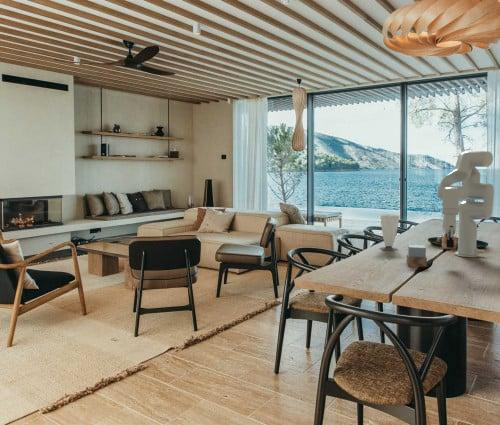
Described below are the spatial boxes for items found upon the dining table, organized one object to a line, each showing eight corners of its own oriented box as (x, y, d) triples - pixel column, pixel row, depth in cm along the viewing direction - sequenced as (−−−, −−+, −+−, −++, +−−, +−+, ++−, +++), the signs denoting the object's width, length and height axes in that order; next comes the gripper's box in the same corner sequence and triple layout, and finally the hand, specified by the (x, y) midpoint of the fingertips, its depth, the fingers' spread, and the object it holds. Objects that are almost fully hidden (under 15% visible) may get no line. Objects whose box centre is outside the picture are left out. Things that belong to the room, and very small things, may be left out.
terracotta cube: (453, 246, 236) (454, 235, 235) (456, 248, 230) (456, 237, 229) (441, 246, 237) (442, 234, 236) (443, 248, 231) (444, 237, 231)
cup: (375, 248, 286) (376, 214, 283) (391, 247, 289) (392, 213, 287) (386, 251, 275) (387, 216, 273) (402, 250, 278) (403, 215, 276)
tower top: (424, 254, 240) (424, 245, 240) (425, 257, 233) (425, 247, 232) (408, 253, 242) (408, 244, 242) (409, 256, 235) (409, 247, 234)
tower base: (424, 263, 241) (424, 254, 240) (426, 267, 232) (426, 257, 232) (406, 262, 243) (406, 253, 243) (407, 266, 235) (408, 256, 234)
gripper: (439, 209, 240) (438, 242, 243) (445, 213, 224) (443, 249, 226) (454, 209, 239) (453, 243, 241) (461, 213, 222) (460, 249, 224)
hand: (448, 245), depth 233 cm, fingers closed on terracotta cube, 6 cm apart
